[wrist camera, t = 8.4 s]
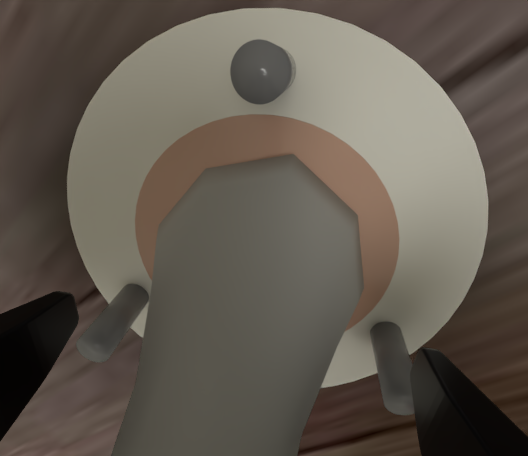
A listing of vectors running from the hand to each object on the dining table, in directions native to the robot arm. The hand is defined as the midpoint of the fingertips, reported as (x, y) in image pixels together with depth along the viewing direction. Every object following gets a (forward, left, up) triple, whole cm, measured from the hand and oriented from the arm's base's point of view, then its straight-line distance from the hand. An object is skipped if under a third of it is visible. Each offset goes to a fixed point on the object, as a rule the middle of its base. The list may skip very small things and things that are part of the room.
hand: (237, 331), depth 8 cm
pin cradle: (0, 0, -5) cm, 5 cm away
